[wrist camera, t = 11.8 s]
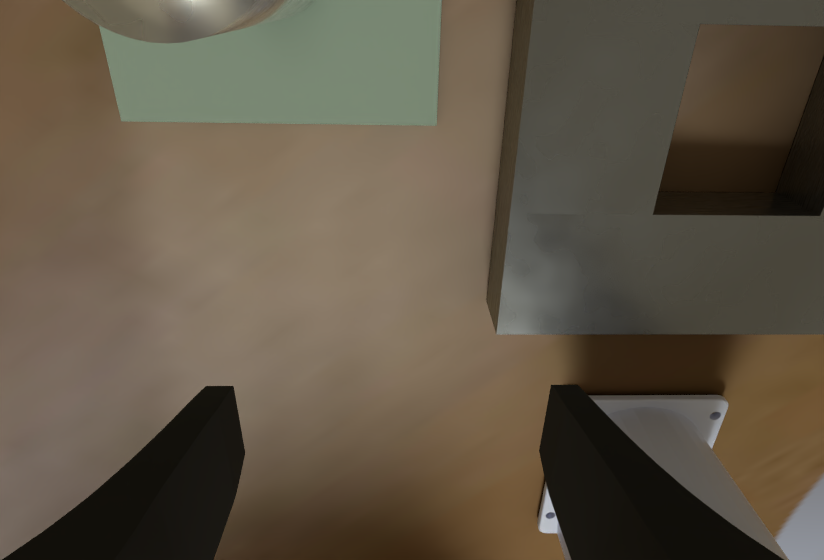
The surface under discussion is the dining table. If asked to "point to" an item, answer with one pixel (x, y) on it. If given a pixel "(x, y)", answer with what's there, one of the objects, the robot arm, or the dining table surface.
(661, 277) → the socket block
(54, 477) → the dining table surface
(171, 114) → the mat
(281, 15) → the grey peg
